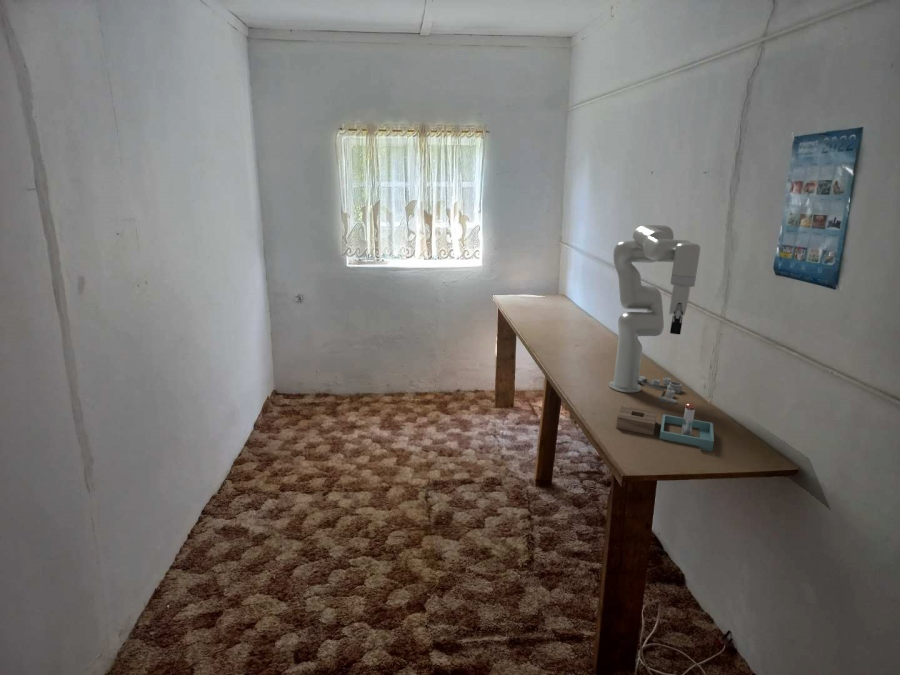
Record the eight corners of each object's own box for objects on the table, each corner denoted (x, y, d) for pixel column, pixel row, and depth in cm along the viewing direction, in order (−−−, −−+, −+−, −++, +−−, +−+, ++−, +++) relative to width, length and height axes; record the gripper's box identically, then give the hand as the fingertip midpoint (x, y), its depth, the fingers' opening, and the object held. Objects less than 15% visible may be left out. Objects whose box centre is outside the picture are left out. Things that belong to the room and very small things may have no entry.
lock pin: (680, 432, 196) (685, 401, 193) (691, 434, 195) (696, 403, 192) (680, 436, 193) (685, 405, 190) (690, 437, 192) (696, 406, 189)
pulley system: (662, 381, 252) (630, 380, 249) (664, 371, 250) (632, 369, 247) (698, 407, 226) (663, 406, 223) (701, 396, 225) (666, 395, 222)
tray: (661, 423, 204) (663, 414, 204) (711, 432, 199) (712, 422, 198) (659, 441, 190) (660, 431, 189) (712, 451, 184) (713, 441, 184)
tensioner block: (620, 418, 208) (621, 404, 206) (655, 424, 203) (657, 411, 202) (615, 430, 197) (617, 416, 196) (653, 437, 193) (655, 423, 191)
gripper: (672, 275, 202) (665, 323, 206) (669, 283, 186) (662, 334, 191) (695, 278, 199) (687, 326, 204) (695, 285, 184) (687, 338, 188)
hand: (675, 330), depth 197 cm, fingers open, 9 cm apart
